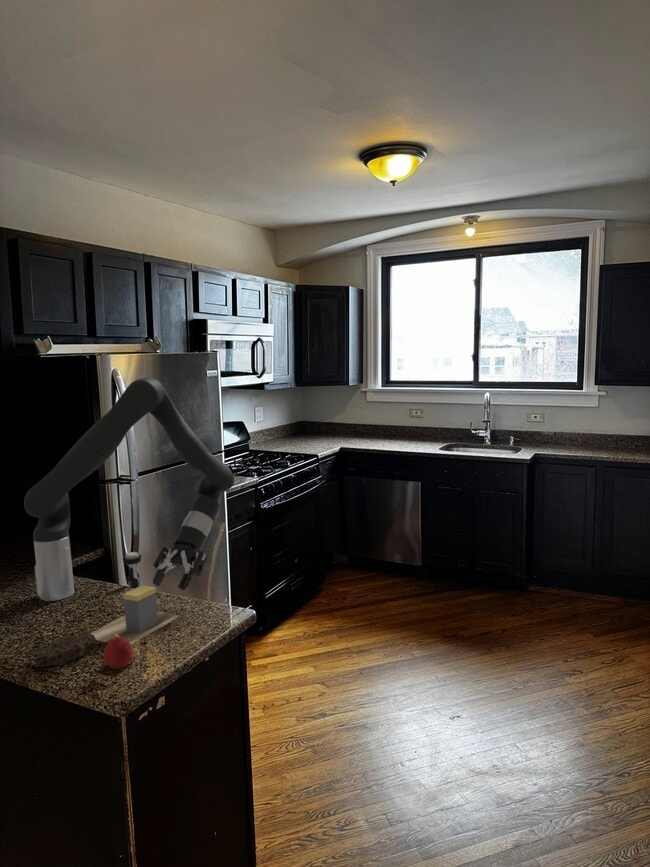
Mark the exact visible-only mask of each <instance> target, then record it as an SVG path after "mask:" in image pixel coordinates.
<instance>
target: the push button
mask: <svg viewBox="0 0 650 867" xmlns="http://www.w3.org/2000/svg"><path fill="white" fill-rule="evenodd" d="M122 561H123V564H124V565H127V566H128V568H129V571H128V574H127V577H126V581H127V582H126V583H128V587H129V588H131V589H135V588H137V587H139V586H141V578H140V573H139V571H138V568H137V565H138V564H139V563H141V561H142V554H139V553H138V552H137V551H132V552H131V551H130V552H127V553H125V556H123V557H122Z"/></svg>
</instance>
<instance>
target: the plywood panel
mask: <svg viewBox="0 0 650 867" xmlns="http://www.w3.org/2000/svg"><path fill="white" fill-rule="evenodd" d="M157 616H158V624H156V625H154V626H153V627H151V628H149V629H147V630H146V631H144V632H142V633H135V632H131V631H126V619H125V615H124V616H121V617H119V618H118V619H116V620H113V621H112V622H109V623H108V624H106V625H104V626H102V627H100V628H98V629H96V630H94V631H92V632H89V633H90V634H92V635H94V636H95V638H96V641H99V642H103V643H107V644H108V643H109V642H110V641H111V640H112V639H113V635H115V634H116V635H118V636H120V637H122V638H124V639H126V640H127V641H128V642H129V643H130V644H131V645H132V644H135V643H136V642H138V641H139V640H142V639H143V638H145V637H147V636H148V635H150V634H152V633H153V632H155V631H157V630H158V629H160V628H162V627H164V626H166V625H167V624H170V623H171V622H173V621H175V620H176V619H178V618H180V617H181V616H180V615H177V614H175V613H171V612H165V611H157Z"/></svg>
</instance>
